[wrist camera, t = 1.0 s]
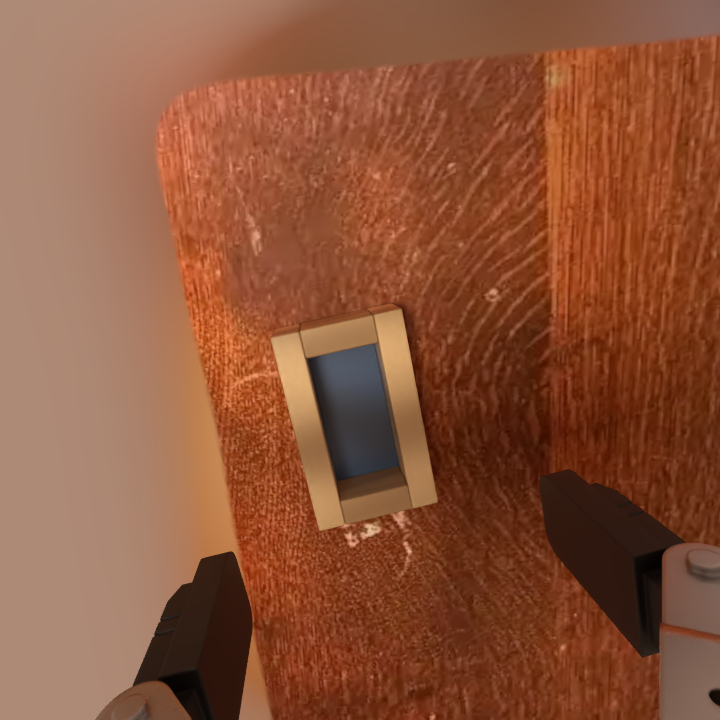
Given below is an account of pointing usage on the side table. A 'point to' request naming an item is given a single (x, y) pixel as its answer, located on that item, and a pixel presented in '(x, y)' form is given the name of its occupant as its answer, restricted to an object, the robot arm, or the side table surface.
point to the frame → (356, 414)
